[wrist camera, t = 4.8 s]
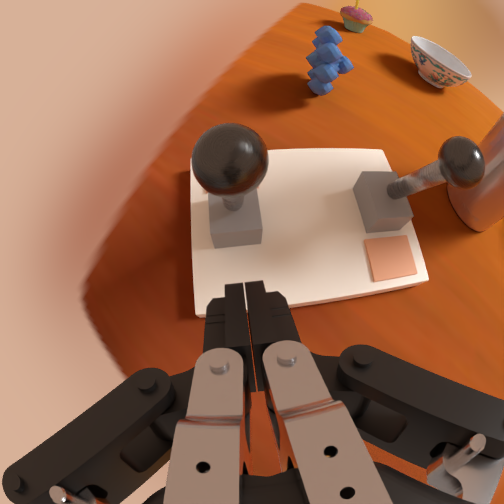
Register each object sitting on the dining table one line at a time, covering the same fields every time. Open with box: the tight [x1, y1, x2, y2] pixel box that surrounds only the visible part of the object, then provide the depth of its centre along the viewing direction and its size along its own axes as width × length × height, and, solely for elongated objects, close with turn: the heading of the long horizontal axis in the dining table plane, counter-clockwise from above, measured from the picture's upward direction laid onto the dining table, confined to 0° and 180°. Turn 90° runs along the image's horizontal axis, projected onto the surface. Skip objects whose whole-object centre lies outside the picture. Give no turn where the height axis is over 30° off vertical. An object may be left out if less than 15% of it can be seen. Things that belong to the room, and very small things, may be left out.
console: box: [191, 148, 429, 318], centre depth 24 cm, size 16×22×5 cm
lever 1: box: [191, 123, 269, 211], centre depth 15 cm, size 3×3×11 cm
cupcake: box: [340, 0, 373, 33], centre depth 41 cm, size 9×8×12 cm
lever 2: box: [387, 136, 485, 200], centre depth 16 cm, size 3×3×11 cm
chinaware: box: [411, 36, 471, 88], centre depth 37 cm, size 15×15×8 cm
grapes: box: [306, 26, 354, 96], centre depth 29 cm, size 12×7×12 cm, turn 172°
